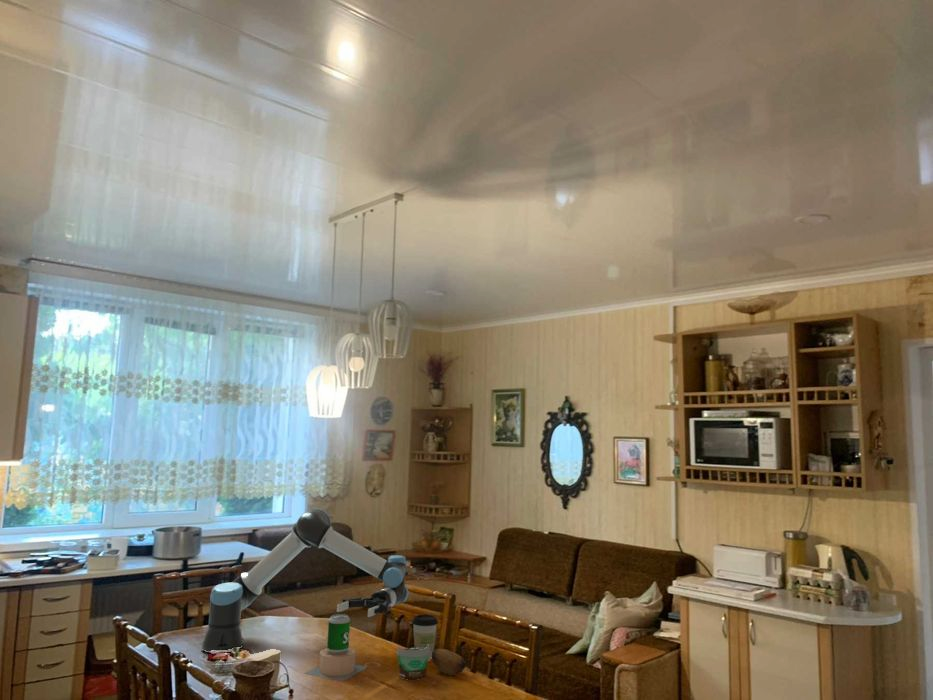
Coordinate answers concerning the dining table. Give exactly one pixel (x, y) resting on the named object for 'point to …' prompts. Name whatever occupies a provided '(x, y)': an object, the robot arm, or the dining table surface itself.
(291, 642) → the dining table surface
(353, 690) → the dining table surface
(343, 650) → the soda can
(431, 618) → the coffee cup
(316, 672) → the rubber mat
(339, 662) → the beige hollow cylinder
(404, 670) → the food container
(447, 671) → the potato
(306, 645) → the dining table surface
